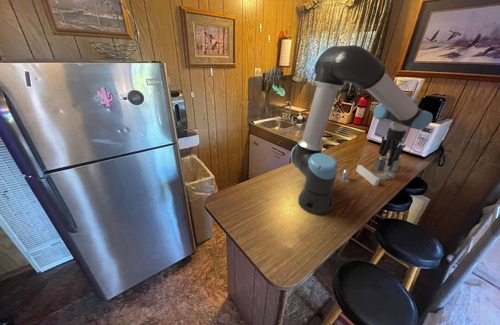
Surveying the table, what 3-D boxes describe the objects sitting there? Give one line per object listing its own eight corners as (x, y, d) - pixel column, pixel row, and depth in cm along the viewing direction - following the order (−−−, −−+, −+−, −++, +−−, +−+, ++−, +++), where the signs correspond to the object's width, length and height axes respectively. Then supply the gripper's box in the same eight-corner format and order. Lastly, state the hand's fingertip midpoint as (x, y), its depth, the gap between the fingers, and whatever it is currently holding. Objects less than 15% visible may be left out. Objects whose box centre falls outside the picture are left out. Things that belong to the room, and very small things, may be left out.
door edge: (374, 185, 106) (376, 179, 104) (355, 170, 120) (357, 165, 118) (377, 185, 106) (379, 179, 105) (358, 170, 120) (360, 164, 118)
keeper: (371, 180, 111) (373, 175, 109) (364, 174, 116) (366, 170, 115) (394, 178, 113) (396, 174, 111) (386, 173, 118) (388, 169, 117)
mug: (393, 173, 118) (400, 155, 112) (373, 165, 127) (379, 148, 121) (399, 170, 121) (407, 153, 115) (380, 162, 130) (386, 146, 124)
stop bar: (386, 167, 114) (391, 156, 111) (391, 170, 111) (396, 159, 108) (372, 168, 113) (376, 156, 110) (376, 171, 110) (381, 159, 106)
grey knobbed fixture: (342, 181, 109) (345, 172, 106) (337, 177, 113) (340, 168, 111) (349, 181, 110) (352, 172, 107) (344, 176, 114) (346, 167, 111)
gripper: (379, 124, 107) (367, 162, 119) (404, 134, 93) (387, 176, 104) (391, 123, 108) (378, 161, 120) (418, 134, 94) (400, 175, 105)
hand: (382, 168), depth 112 cm, fingers closed on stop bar, 3 cm apart
